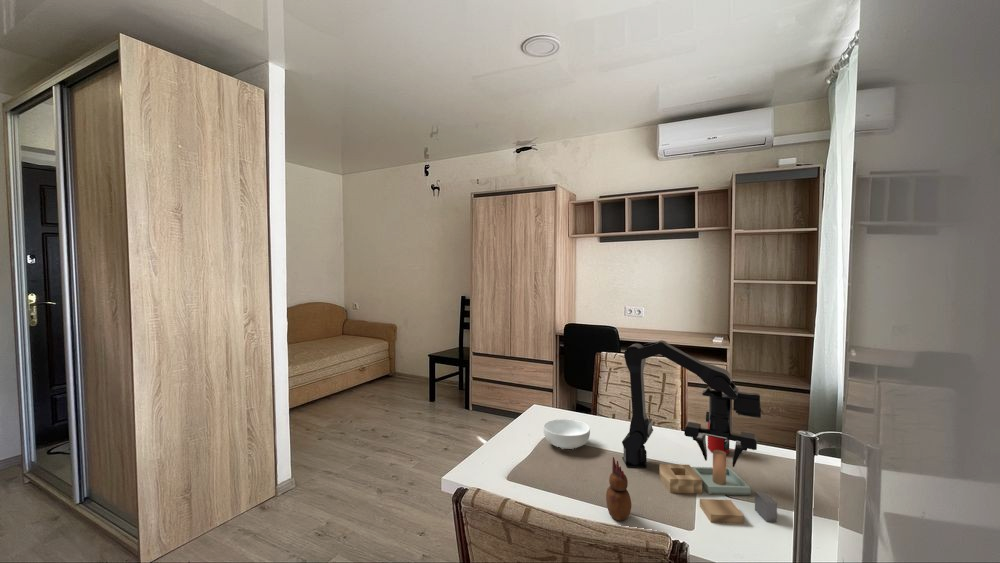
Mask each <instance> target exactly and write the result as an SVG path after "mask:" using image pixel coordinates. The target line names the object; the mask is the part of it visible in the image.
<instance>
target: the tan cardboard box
mask: <svg viewBox="0 0 1000 563" xmlns="http://www.w3.org/2000/svg"><path fill="white" fill-rule="evenodd" d="M699 508H700V509H701V510H702V512H703V513H704V515H705V516H706V518H707V519H708V521H709V522H710V523H715V524H717V523H718V524H731V525H732V524H733V525H744V524H745V516H744V514H743V513H742V512H741V511H740V509H739V508H738V507H737V506H736V505H735V504H734V502H733V501H732V499H717V498H716V499H714V498H713V499H712V498H711V499H710V498H699Z"/></svg>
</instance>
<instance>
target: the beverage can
mask: <svg viewBox="0 0 1000 563" xmlns="http://www.w3.org/2000/svg"><path fill="white" fill-rule="evenodd" d="M707 429H709V422H707ZM707 449H708V450H709V451H710V452H711V453H713V450H721V451H724V452H725V453H726V455H727V454H729V453H730V440H727V439H722V438H717V437H712V436H707Z"/></svg>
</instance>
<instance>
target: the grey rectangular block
mask: <svg viewBox="0 0 1000 563" xmlns="http://www.w3.org/2000/svg"><path fill="white" fill-rule="evenodd" d="M754 511H755V512H756V513H757V514H758V515H759V516H760V517H761V518H762V519H763V520H764V522H767V523H777V522H778V502H777V501H776V500H774V499H773V498H772V496H770V495H769V494H768V493H767V492H766V491H755V492H754Z"/></svg>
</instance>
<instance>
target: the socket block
mask: <svg viewBox="0 0 1000 563" xmlns="http://www.w3.org/2000/svg"><path fill="white" fill-rule="evenodd" d="M692 467H693V466H691V465H690V464H683V463H682V464H681V463H680V464H675V463H674V464H673V463H672V464H671V463H670V464H668V463H667V464H666V463H659V479H661V481H662V483H663V484H664V486H665V487H666V489H667V490H668V492H669V493H672V494H673V493H674V494H703V487H702V479H701V478H700V477H699V476H698V474H697V473H696V472H695V471H694V470H693V469H692Z"/></svg>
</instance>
